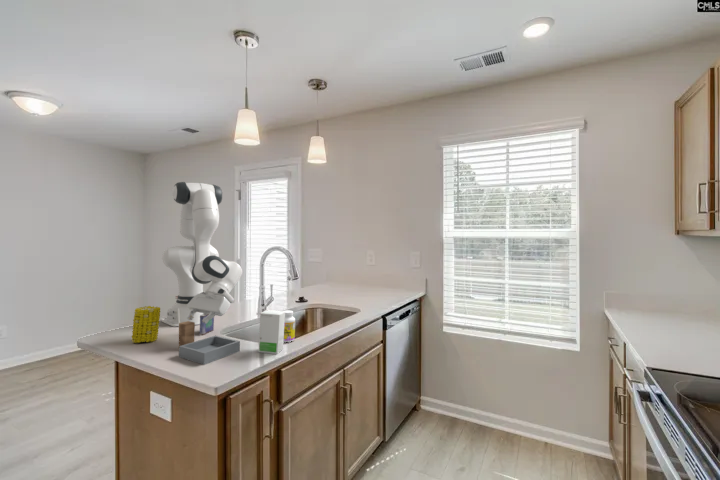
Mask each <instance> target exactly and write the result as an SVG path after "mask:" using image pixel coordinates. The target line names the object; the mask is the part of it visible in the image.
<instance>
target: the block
mask: <svg viewBox="0 0 720 480" xmlns="http://www.w3.org/2000/svg"><path fill="white" fill-rule="evenodd" d="M195 326H196V325H195V322H190V321H186V322H182V323H179V326H178V347H179V346H182V345H185V344H188V343H192V342H195V329H196V328H195Z"/></svg>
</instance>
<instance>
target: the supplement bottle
mask: <svg viewBox="0 0 720 480" xmlns="http://www.w3.org/2000/svg"><path fill="white" fill-rule="evenodd" d="M283 311H284V312H285V323H284V341H283V344H287V343H286V342H289V343H292V342H291V341H293V340H294V341H295V339H296V338H295V337H296V336H295V335H296V334H295V333H296V318H295V317H294V316H293V315H294V311H293V310H289V309H288V310H287V309H286V310H283ZM294 341H293V342H294Z"/></svg>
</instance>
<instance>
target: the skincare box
mask: <svg viewBox="0 0 720 480" xmlns="http://www.w3.org/2000/svg"><path fill="white" fill-rule="evenodd" d="M284 311H285V310H275V309H273V310H272V309H265V310H264V311H261V312H260V315H259V316H260V317H259V333H258V349H257V350H258V351H257V352H258V353H262V354H273V355H274V354H275V355H278V354H279V353H280V352H281V351H282V349H284V343H283V341H284V323H285V312H284Z"/></svg>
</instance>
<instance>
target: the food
mask: <svg viewBox="0 0 720 480" xmlns="http://www.w3.org/2000/svg"><path fill="white" fill-rule="evenodd" d="M160 318H161V307H160V306H159V307H158V306H154V305H153V306H151V305H148V306H146V305H145V306H141V307H137V308H135V310H134V316H133V319H132V321H133V323H132V332H131V333H132V335H131V341H132V342H131V343H133V344H134V343H135V344H138V343H143V342H144V343H145V342H146V343H149V342H151V343H152V342H155V341H156V340H158V339H159V338H158V336H159V326H160V320H161V319H160Z"/></svg>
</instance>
